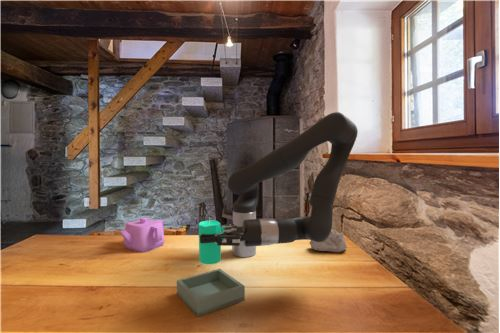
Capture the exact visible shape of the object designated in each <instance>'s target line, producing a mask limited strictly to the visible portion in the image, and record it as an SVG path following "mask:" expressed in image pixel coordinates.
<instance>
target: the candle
mask: <svg viewBox="0 0 500 333" xmlns="http://www.w3.org/2000/svg"><path fill="white" fill-rule="evenodd" d="M220 225H221V222H219V221H218V220H214V219H212V220H211V219H210V217H209V218H208V220H203V221H200V222H199V223H198V246H199V247H198V252H199V253H198V255H199V258H198V261H199V262H200V263H201V264H203V265H214V264H218V263H219V262H221V260H222V257H221V256H222V246H218V245H217V244H216V243H215V242H214V243H200V235H201V234H205V235H208V234H216V233H220V232H221V230H220Z"/></svg>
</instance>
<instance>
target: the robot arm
mask: <svg viewBox="0 0 500 333" xmlns="http://www.w3.org/2000/svg"><path fill="white" fill-rule="evenodd" d="M357 137H358V127H357V125H356V124H355V123H354V122H353V121H352V119H350V118H349V117H348V116H347V115H346V114H344V113H343V112H341V111H335V112H331V113H329V114H327V115H325V116H323V117H322V118H321V119H319V120H318V121H317V122H315V123H314V124H313V125H312V126H310V127H309V128H308V129H306V130H304V131H303V132H302V133H300V134H298V135H297V136H295V137H294V138H292V139H290V140H289V141H288V142H286V143H284V144H282V145H280V146H278V147H277V148H275V149H273V150H272V151H270V152H269V153H267V154H265V155H264V156H262V157H261V158H260V159H258V160H256V161H255V162H253V163H252V164H249V165H248V166H245V167H243V168H241V169H238V170H236V171H235V172H232V174H231V175H230V176H229V178H228V179H227V188H228V190H229V191H230V192H231V193H233V194H234V195H237V196H238V197H237V200H235V202H233V204H232V223H227V224H226V223H225V224H220V233H216V234H208V235H205V234H201V235H200V243H214V242H215V243H216V244H217V245H218V246H221V247H222V246H223V247H224V246H228V247H229V246H230V247H231V246H232V247H231V251H232V254H233V255H234V256H235V257H239V258H249V257H253V256H255V255H256V254H257V247H261V246H272V245H278V244H289V243H293V242H295V241H301V240H307V241H308V240H309V241H311V240H312V241H315V242H323V241H325V240H326V239H327V238H328V237H329V235H330V232H331V229H332V230H333V211H334V210H333V208H334V207H333V206H334V202H335V198H336V195H337V192H338V187H339V183H340V180H341V177H342V173H343V172H344V168H345V167H346V164H347V162H348V158H350V155H351V152H352V150H353V148H354V145H355V142H356V141H357ZM326 142H329V143H330V144H331V147H330V154H329V157H328V160H326V163H325V165H324V166H323V168H322V169H320V171H319V173H318V174H317V176H316V178H315V180H314V183H313V185H312V189H311V193H310V198H309V206H311V212H310V215H309V216H299V217H293V218H257V205H258V202H259V188H260V186H259V183H261V182H264V181H266V180H270V179H273V178H277V177H279V176H283V175H284V174H287V173H289V172H290V171H293V170H294V169H297V167H299V166H300V165H301V164H302V163H303V162H304V160H305V159H306V157H307V156H308V154H309V153H310V152H311V151H312V150H313V149H314V148H316V147H318V146H320V145H322V144H324V143H326Z"/></svg>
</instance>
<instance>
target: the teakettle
mask: <svg viewBox="0 0 500 333" xmlns="http://www.w3.org/2000/svg"><path fill="white" fill-rule="evenodd" d="M124 227H125V228H124V229H122V230H121V231H119V233H120V235H121V236H122V237H123V246H124V247H125V249H129V250H130V251H135V252H140V253H146V252H149V251H152V250H156V249H157V248H160V247H163V246H164V243H165V234H164V232H165V229H164V220H163V219H156V220H155V219H149V218H148V217H140V218H139V219H138V220H134V221H126V222H125V226H124Z"/></svg>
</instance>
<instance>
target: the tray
mask: <svg viewBox="0 0 500 333" xmlns="http://www.w3.org/2000/svg"><path fill="white" fill-rule="evenodd" d="M245 287H246V286H245V285H244V284H242V283H241V282H240V281H239V280H237V279H236V278H234V277H233V276H231V275H229V274H228V273H227V272H226V271H224V270H222V269H221V268H217V269H213V270H211V271H205V272H203V273H198V274H196V275H192V276H187V277H184V278H180V279H176V295H177V296H178V297H179V298H180V299H181V300H182V301H183V302H184V304H185V305H186V306H187V308H189V309H190V310H191V312H193V314H194V315H195V316H196V317H197V318H199V317H201V316H204V315H207V314H209V313H212V312H215V311H218V310H220V309H223V308H226V307H229V306H233V305H235V304H237V303H240V302H243V301H245V300H246V298H245V295H246V294H245V293H246V292H245Z"/></svg>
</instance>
